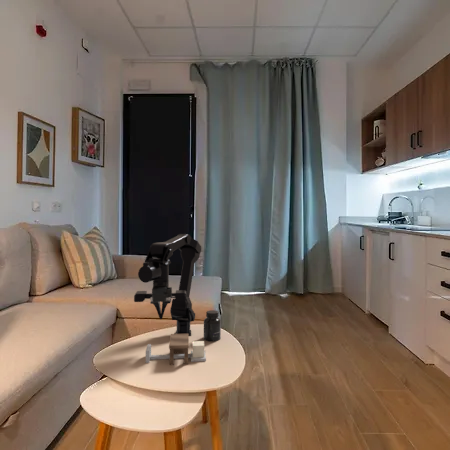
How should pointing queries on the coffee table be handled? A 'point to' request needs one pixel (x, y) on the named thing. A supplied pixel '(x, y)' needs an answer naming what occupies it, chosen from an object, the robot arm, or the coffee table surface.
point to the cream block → (198, 348)
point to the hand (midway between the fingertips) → (161, 318)
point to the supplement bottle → (212, 326)
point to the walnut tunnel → (179, 346)
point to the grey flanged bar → (176, 356)
